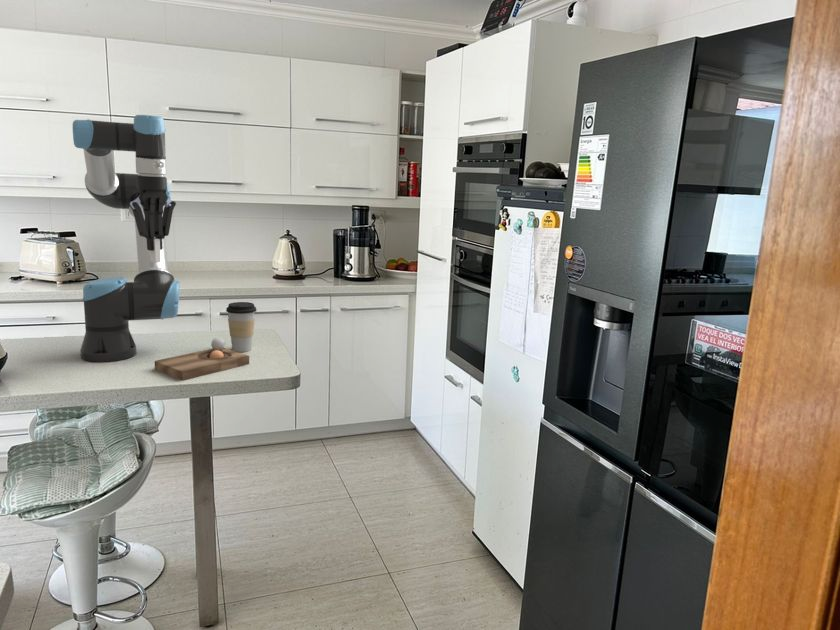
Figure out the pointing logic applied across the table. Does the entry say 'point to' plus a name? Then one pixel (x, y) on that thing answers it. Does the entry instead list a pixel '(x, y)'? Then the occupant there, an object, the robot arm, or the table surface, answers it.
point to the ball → (216, 354)
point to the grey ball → (218, 344)
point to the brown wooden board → (200, 363)
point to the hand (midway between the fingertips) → (155, 261)
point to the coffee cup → (241, 325)
